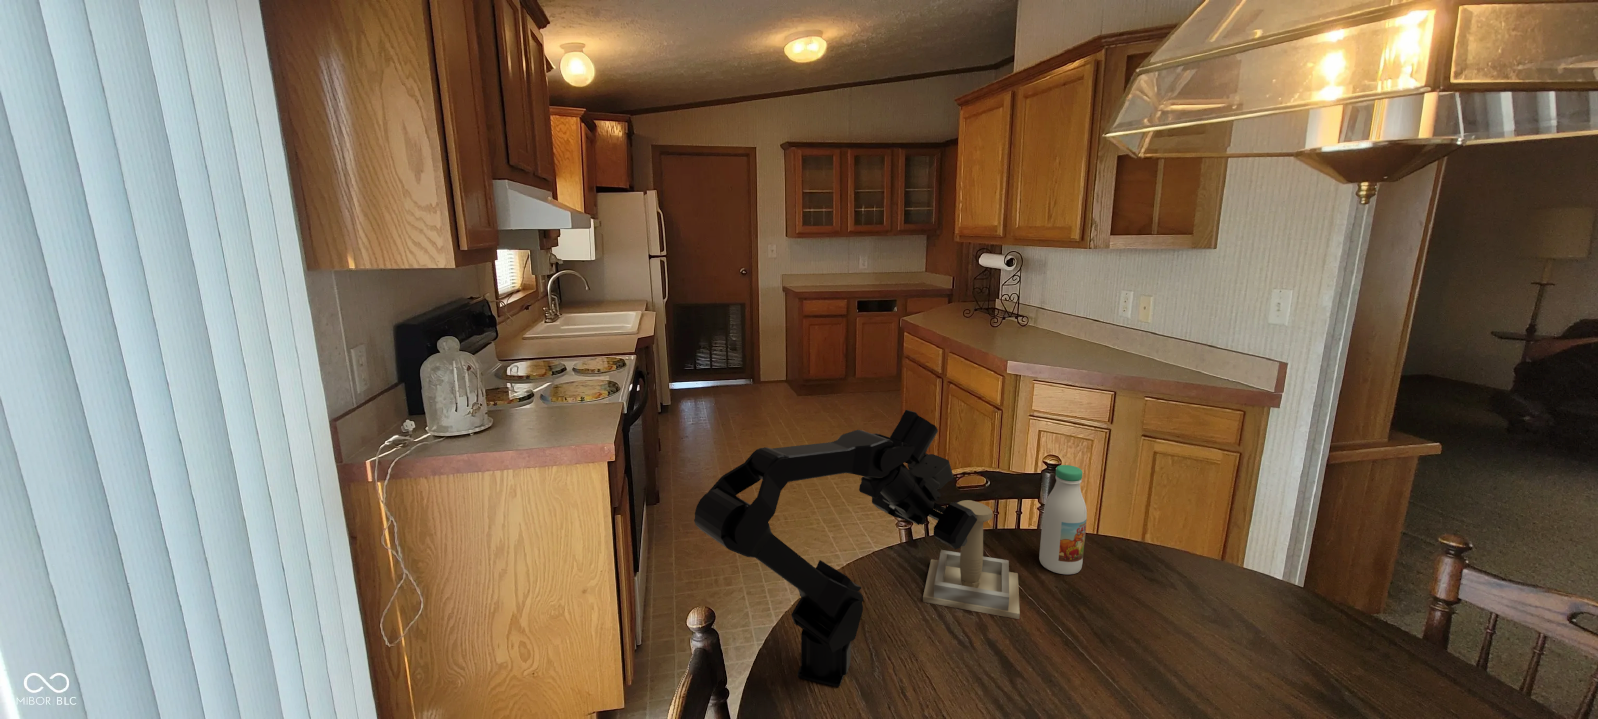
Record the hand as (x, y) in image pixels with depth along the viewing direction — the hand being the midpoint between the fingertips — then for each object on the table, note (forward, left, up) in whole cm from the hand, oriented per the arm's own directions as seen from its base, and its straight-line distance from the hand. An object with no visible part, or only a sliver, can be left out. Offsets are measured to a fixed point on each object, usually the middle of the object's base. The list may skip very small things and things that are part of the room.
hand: (943, 532), depth 104 cm
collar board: (+5, +6, -14) cm, 16 cm away
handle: (+5, +6, -13) cm, 15 cm away
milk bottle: (+21, +20, -14) cm, 32 cm away
